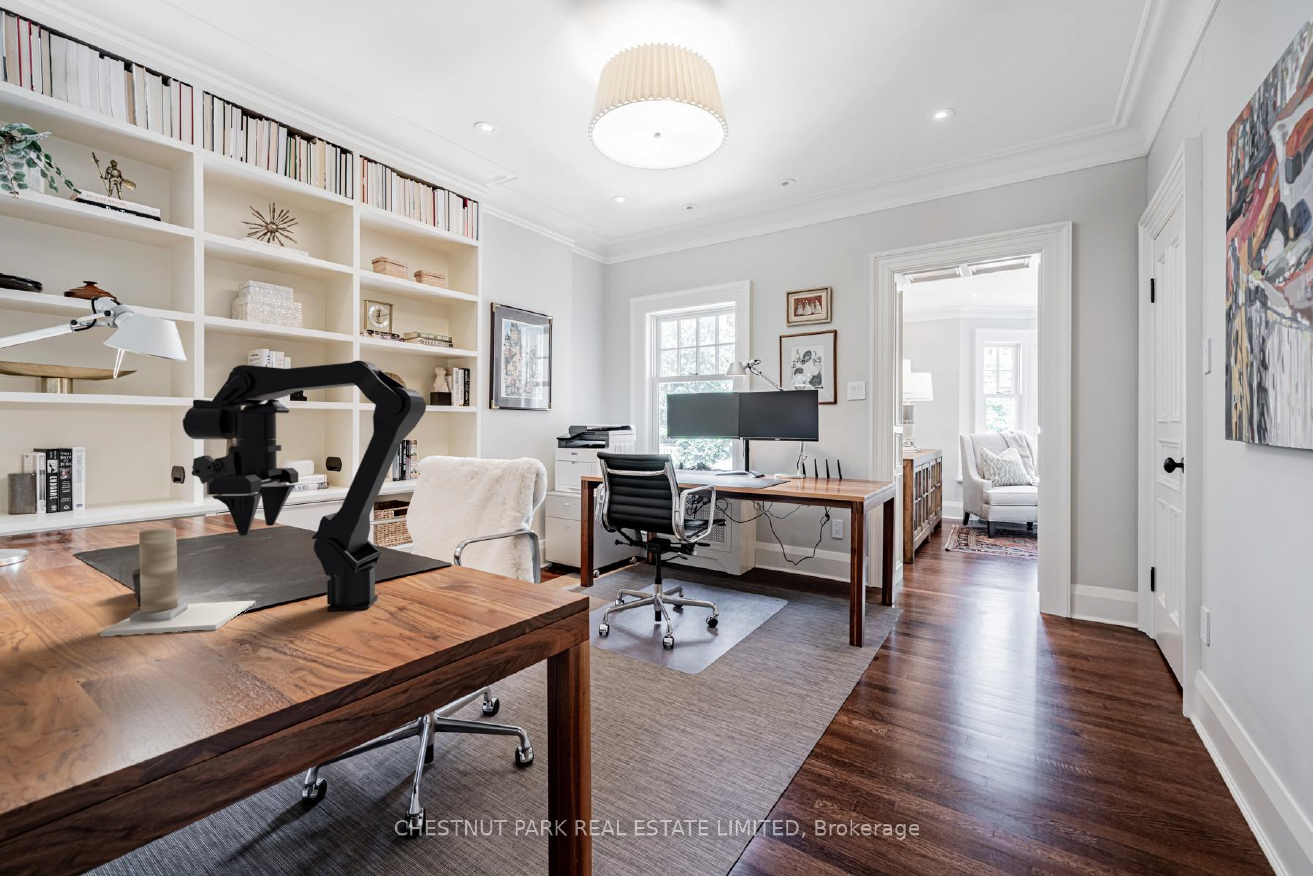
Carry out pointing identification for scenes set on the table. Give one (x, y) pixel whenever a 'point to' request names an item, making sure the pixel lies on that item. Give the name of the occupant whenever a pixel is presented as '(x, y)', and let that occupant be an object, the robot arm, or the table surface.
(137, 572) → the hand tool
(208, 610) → the mat
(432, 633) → the table surface
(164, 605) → the beige pillar on pedestal
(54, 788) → the table surface
